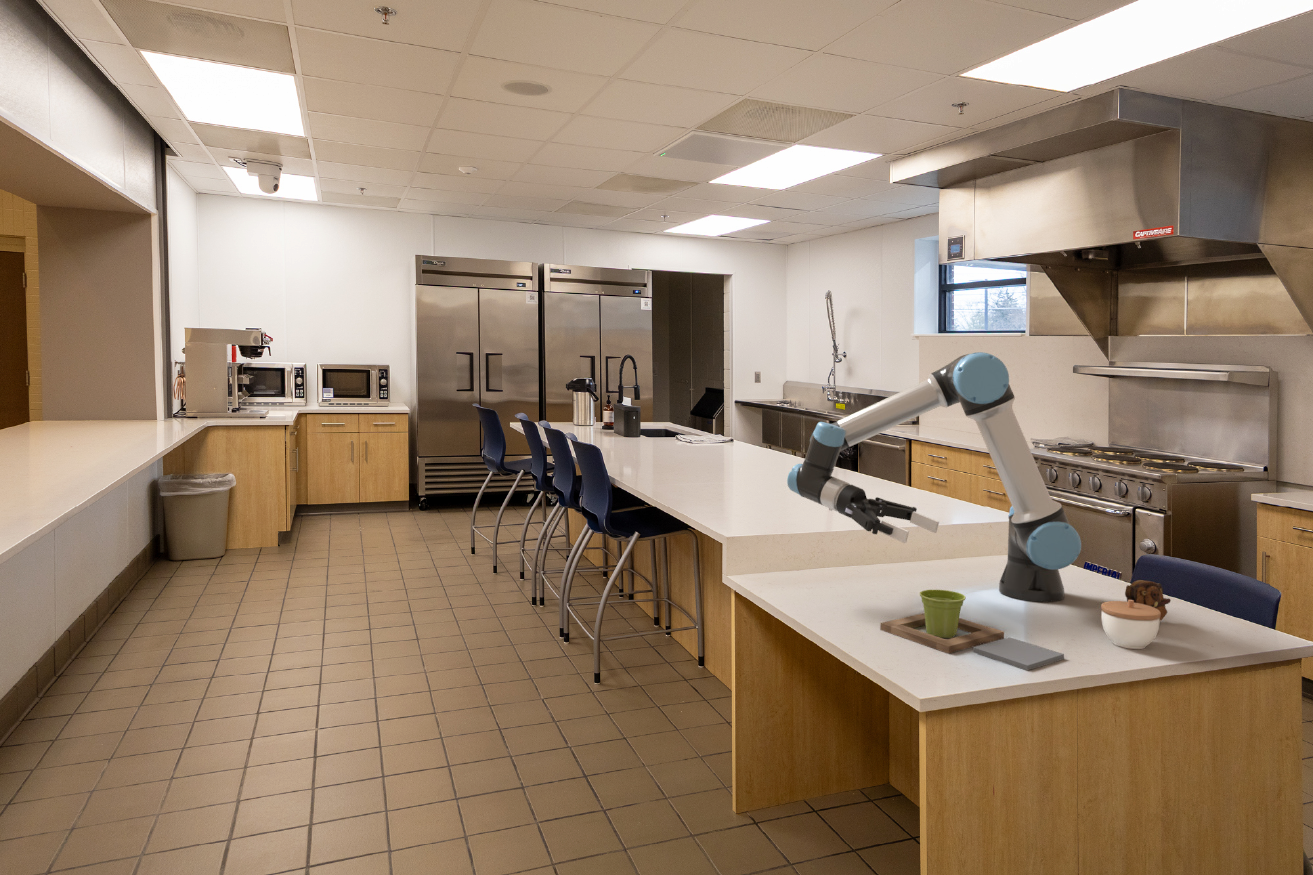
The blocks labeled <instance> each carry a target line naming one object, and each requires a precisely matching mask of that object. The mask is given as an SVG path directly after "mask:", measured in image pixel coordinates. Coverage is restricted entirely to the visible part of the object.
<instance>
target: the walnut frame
mask: <svg viewBox="0 0 1313 875" xmlns="http://www.w3.org/2000/svg"><path fill="white" fill-rule="evenodd" d="M879 626H880V627H879V629H880V631H883V632H885V633H886V632H887V633H889V634H892V635H894V636H896V637H901V638H903V639H904V640H905V639H906V640H909V641H912V642H915V643H917V644H920V645H923V646H925V647H929V648H932V649H934V650H937V651H940V652H943V653H946V654H948V655H949V654H952V653H956V652H959V651H963V650H967V649H970V648H973V647H976V646H980V645H983V644H987V643H991V642H994V641H998V640H1001V639H1005V631H1004V630H1000V629H997V628H994V627H991V626H987V625H984V624H981V623H979V622H978V623H977V622H975V621H971V620H967V619H965V618H961V617H959V622H958V628H957V630H961V631H963V632H966V633H967V634H963V635H962V634H961V635H959V636H956V637H955V636H954V637H952V638H940V637H938V636H936V635H931V634H928V633H927V632H924V631H922V630H919V629H916V628H917V627H918V628H919V627H923V626H926V622H925V613H924V612H922V613H918V614H914V615H909V616H906V617H901V618H896V619H892V620H887V621H884V622H880V624H879Z"/></svg>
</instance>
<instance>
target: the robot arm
mask: <svg viewBox="0 0 1313 875" xmlns="http://www.w3.org/2000/svg"><path fill="white" fill-rule="evenodd" d="M1015 399H1016V397H1015V394H1014V392H1013V390H1012V387H1011V385H1010V376H1009V371H1008V368H1007V367H1006V365H1005V363H1004V362H1003V361H1002V360H1001V359H1000V358H998V357H997V356H995V355H993V354H991V353H988V352H981V351H980V352H972V353H967V354H963V355H961V356H959V357H957V358H955V359H954V360H952V361H951V362H949V363H948V364H946V365H944V366H943V367H940V368H939V369H937V370H936V371H934V372H931V373H929V374H928V377H927V379H925V380H923V381H921V382H919V383H917V384H914V385H912V386H910V387H908V388H906V389H904V390H901V391H899V392H897V393H895V394H893V395H891V396H889V397H886V398H884V399H882V400H880V401H878V402H875V403H873V404H871V405H869V406H866V407H864V408H862V409H860V410H858V411H856V412H854V413H852V414H849V415H847V416H845V417H843V418H840V419H839V420H837V421H834V422H833V423H828V422H824V421H819V422H818V423H817V424H816V426H815V428H814V430H813V432H812V433H811V436H810V439H809V446H808V449H807V451H806V455H805V459H804V460H803V462H802V463H797V464H795V465H794V466H792V467H791V471H789V472H788V475H787V480H786V481H787V487H788V489H789V490H790V491H792V492H793V493H795V494H797V495H799V496H800V497H801V498H805V499H808V500H810V501H811V502H814V503H817V504H818V505H821V506H822V507H823V506H824V507H825V508H828V510H829V511H835V512H838V513H839V514H841V515H843V516H846V517H847V518H849V519H852V520H853V521H854V522H856V523H857V524H858V525H859V526H861V528H863V530H866V532H871V533H872V534H873V535H878V533H881V534H883V535H886V536H888V537H890V538H892V539H895V540H897V541H899V542H901V543H903V544H906V543H907V540H908V538H909V533H910V530H907V529H905V528H903V527H901V526H898V525H896V524H895V523H894V524H893V523H891V522H889V521H886V520H884V519H883V520H881V519H879V518H884V517H889V518H894V519H901V520H906V521H908V522H909V523H911V524H913V525H916V526H917V527H920V528H922V529H924V530H927V531H930V532H932V533H933V534H935V533H937V532H938V528H939V524H940V521H939V520H936V519H935V518H932V517H929V516H926V515H924V514H922V513H919V512H917V507H915V506H909V505H906V504H905V505H904V504H901V503H897V502H894V501H890V500H886V499H884V498H881V497H878V496H877V497H875V499H873V498H868V497H867V495H866V491H865V490H864V489H863V488H861V487H859V486H856V485H853V484H850V483H849V482H847V481H844V480H842V479H840V478H836V477H834V476H833V472H834V468H835V466H836V464H837V460H838V458H839V455H840V452H841V451H844V450H846V449H848V448H850V447H852V446H854V445H857V444H858V443H861V442H863V441H865V440H868V439H870V438H873V437H874V436H876V435H879V434H881V433H883V432H884V433H885V432H886V431H888V430H890V429H892V428H895V427H897V426H898V425H901V424H903V423H905V422H908V421H910V420H912V419H915V418H916V417H920V416H922V415H923V414H926V413H928V412H930V411H932V410H935V409H937V408H939V407H942V408H946V409H947V408H948V407H952V406H953V405H956V404H959V403H960V405H961V408H962V410H963V412H964V414H965V417H966V418H968V419H971V420H974V421H975V423H976V426H977V428H978V430H979V432H980V434H981V437H982V440H983V441H984V444H985V445H986V449H987V451H988V454H989V455H990V458H991V460H992V462H993V465H994V467H995V470H996V471H997V474H998V476H999V479H1000V481H1001V484H1002V486H1003V488H1004V490H1005V492H1006V495H1007V497H1008V499H1009V502H1010V504H1011V506H1010V508H1009V513H1008V534H1007V535H1008V536H1007V538H1008V540H1007V562H1006V565H1005V567H1004V569H1003V572H1002V575H1001V577H1000V579H999V583H998V590H999V593H1000V594H1002V595H1004V596H1007V597H1010V598H1013V599H1017V600H1023V601H1029V602H1031V601H1032V602H1045V603H1047V602H1058V601H1061V600H1063V599H1064V598H1065V587H1064V584H1063V581H1062V578H1061V573H1060V571H1059V570H1062V569H1065V568H1068V567H1069V566H1070V565H1072V564H1073V563H1074V562H1076V560H1077V559H1078V557H1079V555H1080V553H1081V550H1082V540H1081V539H1082V538H1081V537H1080V534H1079V533H1078V531H1077V530H1076V528H1074V527H1073V525H1071V524H1070V522H1069V518H1068V517H1067V515H1066V512H1065V509H1064V508H1063V506H1062V503H1060V502H1058V501H1056V500H1054V499H1052V497H1051V496H1050V493H1049V491H1048V488H1047V485H1046V484H1045V481H1044V479H1043V477H1042V475H1041V473H1040V472H1041V471H1040V470H1039V468H1038V465H1037V463H1036V461H1035V458H1034V455H1033V454H1032V452H1031V449H1030V447H1029V444H1028V442H1027V439H1026V437H1025V436H1024V432H1023V430H1022V428H1021V426H1020V423H1019V422H1018V419H1017V417H1016V415H1015V413H1014V410H1013V407H1012V406H1013V403H1014V401H1015Z"/></svg>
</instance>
